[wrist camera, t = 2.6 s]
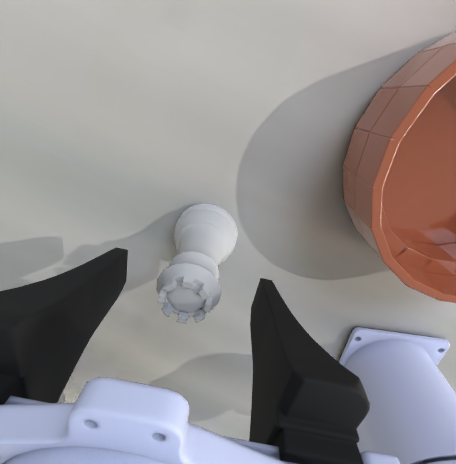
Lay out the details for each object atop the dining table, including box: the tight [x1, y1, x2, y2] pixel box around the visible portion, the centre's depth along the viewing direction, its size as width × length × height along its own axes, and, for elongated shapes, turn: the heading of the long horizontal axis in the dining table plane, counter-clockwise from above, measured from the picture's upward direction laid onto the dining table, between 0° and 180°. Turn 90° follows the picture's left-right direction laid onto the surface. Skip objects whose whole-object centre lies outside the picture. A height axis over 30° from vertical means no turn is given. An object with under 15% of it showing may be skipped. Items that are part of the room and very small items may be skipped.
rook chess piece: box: [157, 203, 238, 324], centre depth 16 cm, size 4×4×8 cm
